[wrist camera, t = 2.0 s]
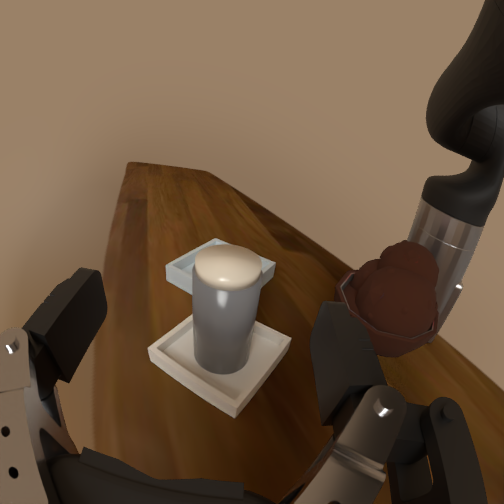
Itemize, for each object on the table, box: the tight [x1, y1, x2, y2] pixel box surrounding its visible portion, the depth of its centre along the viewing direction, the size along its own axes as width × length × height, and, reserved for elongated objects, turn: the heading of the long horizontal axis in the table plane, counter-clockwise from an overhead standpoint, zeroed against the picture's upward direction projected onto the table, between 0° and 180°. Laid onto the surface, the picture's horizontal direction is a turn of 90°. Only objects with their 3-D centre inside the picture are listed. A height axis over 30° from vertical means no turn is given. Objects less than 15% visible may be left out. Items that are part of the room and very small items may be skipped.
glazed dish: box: [166, 238, 276, 295], centre depth 39 cm, size 11×11×2 cm
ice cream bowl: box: [334, 240, 439, 357], centre depth 24 cm, size 11×11×15 cm
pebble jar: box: [192, 244, 263, 375], centre depth 24 cm, size 6×6×11 cm
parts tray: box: [148, 314, 292, 418], centre depth 27 cm, size 10×10×2 cm
